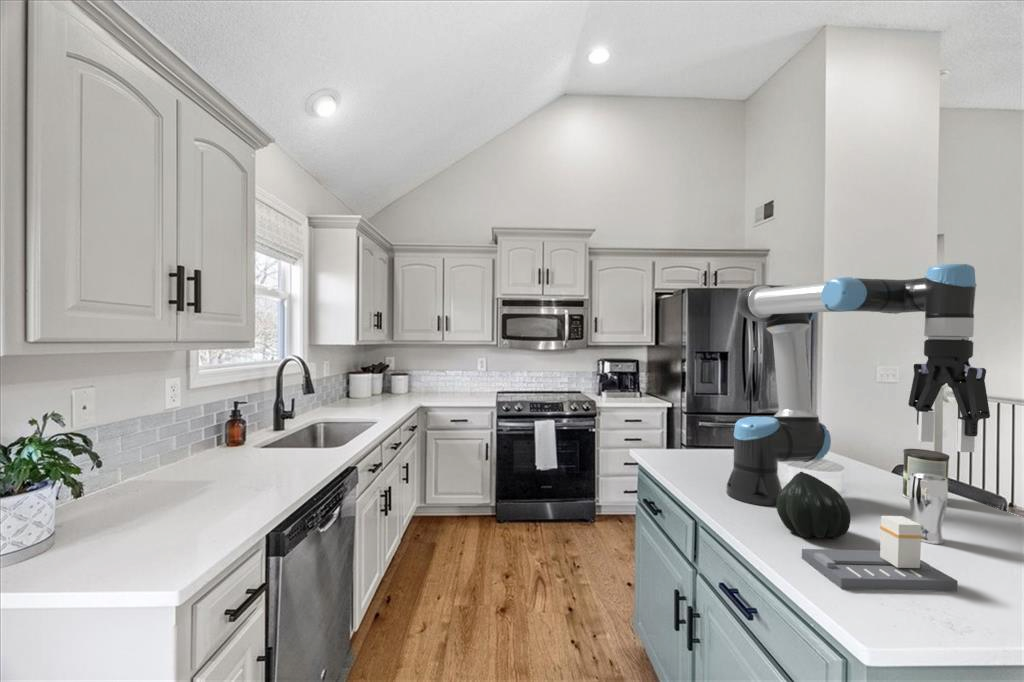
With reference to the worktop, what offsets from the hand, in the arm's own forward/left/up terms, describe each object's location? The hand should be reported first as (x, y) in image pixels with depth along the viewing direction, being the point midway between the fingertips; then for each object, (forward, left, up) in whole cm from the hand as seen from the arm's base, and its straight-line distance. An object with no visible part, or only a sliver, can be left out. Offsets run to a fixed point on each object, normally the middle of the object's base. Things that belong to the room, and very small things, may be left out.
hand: (944, 446), depth 97 cm
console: (-5, -17, -25) cm, 31 cm away
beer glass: (-7, +14, -26) cm, 30 cm away
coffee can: (-19, +49, -26) cm, 58 cm away
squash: (-22, -8, -26) cm, 35 cm away
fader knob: (-2, -13, -23) cm, 26 cm away
